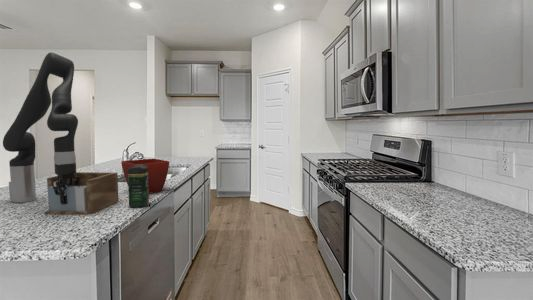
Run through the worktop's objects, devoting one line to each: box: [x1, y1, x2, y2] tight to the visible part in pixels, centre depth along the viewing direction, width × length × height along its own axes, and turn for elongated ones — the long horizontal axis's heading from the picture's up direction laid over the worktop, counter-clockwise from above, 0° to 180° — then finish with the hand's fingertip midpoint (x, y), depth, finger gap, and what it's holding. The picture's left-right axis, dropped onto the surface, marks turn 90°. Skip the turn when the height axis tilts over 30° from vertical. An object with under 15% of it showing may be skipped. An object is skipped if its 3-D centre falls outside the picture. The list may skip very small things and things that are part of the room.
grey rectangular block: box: [46, 186, 88, 212], centre depth 129 cm, size 16×4×10 cm, turn 87°
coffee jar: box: [128, 165, 150, 209], centre depth 139 cm, size 10×8×19 cm
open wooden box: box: [43, 171, 119, 215], centre depth 136 cm, size 22×21×14 cm
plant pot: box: [121, 158, 170, 194], centre depth 168 cm, size 19×19×17 cm
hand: (67, 202), depth 129 cm, fingers open, 3 cm apart
